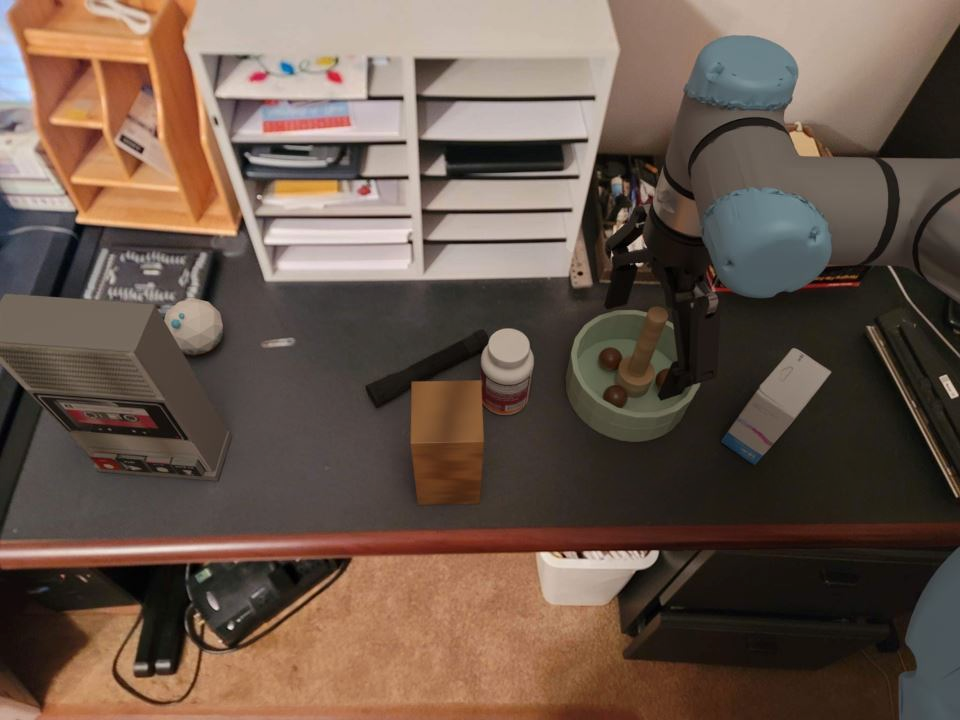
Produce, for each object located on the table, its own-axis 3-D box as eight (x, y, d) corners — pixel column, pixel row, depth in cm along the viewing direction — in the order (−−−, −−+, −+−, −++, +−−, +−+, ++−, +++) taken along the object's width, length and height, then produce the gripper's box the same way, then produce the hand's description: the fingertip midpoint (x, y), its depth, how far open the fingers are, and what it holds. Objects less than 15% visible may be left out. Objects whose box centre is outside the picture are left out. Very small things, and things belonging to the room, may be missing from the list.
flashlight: (366, 393, 86) (364, 380, 84) (478, 337, 92) (478, 323, 89) (378, 411, 85) (375, 398, 82) (490, 353, 90) (491, 339, 88)
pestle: (651, 398, 86) (681, 330, 75) (616, 398, 86) (641, 330, 74) (646, 368, 89) (674, 298, 77) (612, 368, 88) (635, 298, 77)
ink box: (755, 468, 82) (795, 418, 72) (719, 442, 84) (753, 390, 74) (791, 422, 86) (834, 369, 76) (755, 398, 87) (792, 343, 78)
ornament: (179, 323, 92) (157, 283, 85) (234, 321, 92) (217, 282, 85) (169, 366, 88) (145, 328, 81) (226, 364, 88) (207, 326, 82)
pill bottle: (491, 367, 89) (495, 314, 80) (536, 385, 88) (545, 333, 79) (470, 405, 86) (472, 354, 77) (516, 424, 84) (524, 375, 75)
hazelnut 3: (676, 397, 87) (689, 381, 85) (657, 397, 85) (670, 381, 83) (665, 379, 88) (677, 363, 87) (646, 379, 87) (658, 362, 85)
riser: (477, 448, 83) (481, 379, 70) (480, 503, 79) (484, 441, 66) (418, 449, 82) (411, 381, 70) (417, 505, 78) (410, 443, 66)
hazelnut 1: (625, 366, 89) (622, 372, 86) (602, 369, 90) (598, 374, 87) (622, 343, 88) (618, 348, 85) (598, 346, 89) (594, 351, 86)
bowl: (710, 420, 86) (726, 394, 81) (597, 458, 82) (606, 433, 77) (651, 325, 94) (662, 297, 89) (546, 356, 90) (551, 328, 85)
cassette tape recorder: (97, 474, 79) (-30, 348, 59) (117, 427, 83) (3, 292, 62) (218, 484, 79) (132, 360, 58) (232, 436, 83) (157, 303, 62)
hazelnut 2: (624, 415, 85) (636, 398, 83) (604, 414, 84) (616, 397, 82) (613, 397, 87) (625, 380, 85) (594, 396, 86) (605, 379, 84)
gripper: (595, 136, 69) (567, 278, 86) (729, 326, 56) (664, 448, 73) (662, 121, 70) (621, 263, 88) (808, 302, 57) (726, 427, 75)
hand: (641, 348), depth 81 cm, fingers open, 13 cm apart
